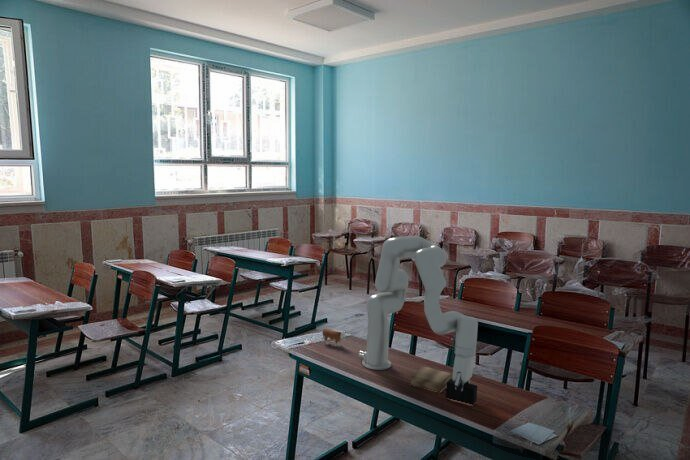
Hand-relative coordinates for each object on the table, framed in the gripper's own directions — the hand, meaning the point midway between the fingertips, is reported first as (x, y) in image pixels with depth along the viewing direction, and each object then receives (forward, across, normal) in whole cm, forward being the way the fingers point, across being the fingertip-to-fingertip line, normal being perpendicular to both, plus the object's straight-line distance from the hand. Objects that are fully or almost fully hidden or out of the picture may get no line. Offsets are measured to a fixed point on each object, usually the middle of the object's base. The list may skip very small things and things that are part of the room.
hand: (461, 396), depth 182 cm
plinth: (+1, -7, -15) cm, 17 cm away
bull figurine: (+2, -20, -70) cm, 73 cm away
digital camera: (+2, 0, 0) cm, 2 cm away
